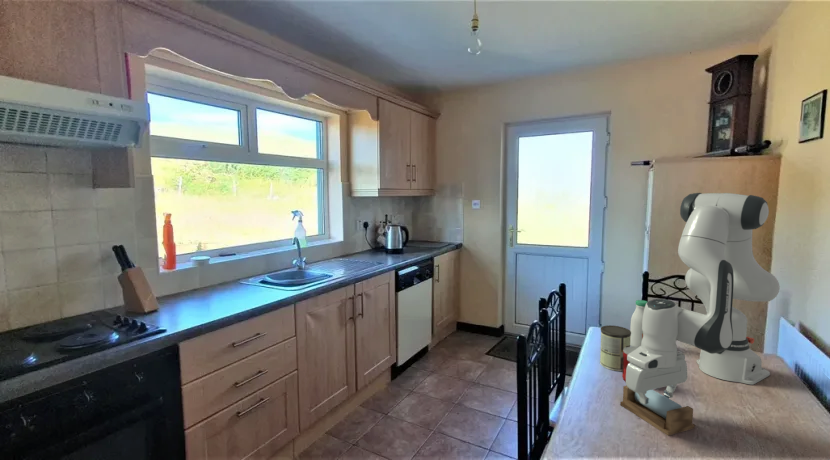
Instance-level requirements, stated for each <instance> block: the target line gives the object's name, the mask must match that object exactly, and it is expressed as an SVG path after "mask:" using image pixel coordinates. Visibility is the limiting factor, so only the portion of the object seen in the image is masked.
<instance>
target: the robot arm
mask: <svg viewBox="0 0 830 460" xmlns="http://www.w3.org/2000/svg"><path fill="white" fill-rule="evenodd" d="M679 208H680V209H679V214H680V217H681V219H682V220H683V221H684V222H685V225H684V228H683V230H682V232H681V233H682V234H681V236H680V239H679V243H678V247H677V249H678V250H677V254H678V256H679V260H681V262H683V263H684V265H686V267H688V268H689V269H688V270H687V272H686V273H685V275H684V280H685V285H686V287H687V288H688V290H690V291H691V292H693V294H695V295H696V296H697V297H698V298H699V300H700V301H701V303H702V304H703V306H704V307H705V311H706V313H705V314H704V313H701V312H697V311H693V310H690V309H687V308H683V307H680V306H678V305H677V304H676V303H675V302H674V301H672V300H669V299H666V298H654V299H651V300H649V301H647V303H646V305H645V308H644V312H643V319H642V331H643V338H642V341H641V346H639V347H638V348H637V349H636V350H634V351H633V352H631V353H629V354H628V355H627V360H628V361H629V362H630V363H629V364H628V365H627V369H626V382H625V386H627V387H628V388H629V389H631V390H632V391H634V392H636V393H638V394H639V396H640V402H641V403H642V404H647V403H649V402H648V401H649V398H647V397H646V396H645V394H646V393H647V391H648V390H656V389H660V388H661V389H662V388H665V387H666V388H665V389H664V390H663V396H665V397H667V398H669V399H671V398H674V392H675V390H676V388H677V385H678V384H682V383H685V382H687V380H688V364H687V361H686V356H685V355H686V354H685V353H684V352H682V351H681V350H678V345H677V341H679V342H681V343H684V344H688V345H689V346H693V347H695V348H697V349H699V350H700V355H699V358H698V359H697V360H696V363H697V364H698V367H699V370H700V371H702V372H703V373H704V374H706V375H708V376H711V377H713V378H716V379H720V380H723V381H728V382H736V383H742V384H746V385H752V386H753V385H755V384H757V383H759V382H760V381H762V380H764V379H766V378H768V377H769V376H770V375H771V372H770V371H769V370H767V369H765V368H764V367H762V363H763V362H762V357H760V356H759V354H757V353H756V352H755V351H754V350H752V349H751V348H750V344H751V345H753V344H754V343H755V338H754V337H750V336H747V332H748V329H747V328H748V318H747V315H745V313H743V311H741V310H739V309H738V308H736V307H734V306H733V304H734V303H733V301H734V300H740V301H745V302H771V301H773V300H774V299H775V298H777V296H778V295H779V293H780V287H781V286H780V282H779V280H778V279H777V277H776V276H775V275H774V274H772V273H771V272H769V271H767V270H765V268H763V267H762V266H761V265H760V264H759V263H758V261H757V260H756V258H755V257H754V253H753V230H757V229H759V228H761V227H763V226H764V224H765V222H766V221H767V220H768V218H769V213H770V211H769V210H770V209H769V205H768V202H767V200H766V199H765V198H763V197H761V196H758V195H753V194H750V195H747V194H738V193H732V192H731V193H730V192H723V193H721V192H716V193H715V192H714V193H713V192H712V193H711V192H708V193H702V192H692V193H689V194H688V195H685V197H684V198H683V199H682V201H681V204H680V207H679Z"/></svg>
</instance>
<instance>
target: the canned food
mask: <svg viewBox="0 0 830 460" xmlns="http://www.w3.org/2000/svg"><path fill="white" fill-rule="evenodd" d="M636 349H637V348H636V347H632V346H630V347H626V348H624V350H623V371H621V372H622V380H623V381H624V382H625V383H626V369H627V365H628V364H629V363H630V362H629V361H628V360H627V355H628V354H629V353H631V352H633V351H634V350H636Z"/></svg>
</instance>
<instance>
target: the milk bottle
mask: <svg viewBox="0 0 830 460" xmlns="http://www.w3.org/2000/svg"><path fill="white" fill-rule="evenodd" d="M647 302H648V301H647V300H644V299H638V300H636V301H635V310H634V312H633V313H632V315H631V318H630V327H629V328H630V329H629V330H630V331H631V340H630V347H636V348H638V347H639V346H641V341H642V338H643V331H642V319H643V312H644V308H645V305H646V303H647Z"/></svg>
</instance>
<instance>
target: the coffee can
mask: <svg viewBox="0 0 830 460" xmlns="http://www.w3.org/2000/svg"><path fill="white" fill-rule="evenodd" d="M630 340H631V331H630V329H628V328H626V327H623V326H619V325H604V326H600V351H599V352H600V359H599V364H600V365H601V366H602V367H603V368H604V369H607V370H610V371H614V372H622V371H623V350H624V348H626V347H631V345H630Z"/></svg>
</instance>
